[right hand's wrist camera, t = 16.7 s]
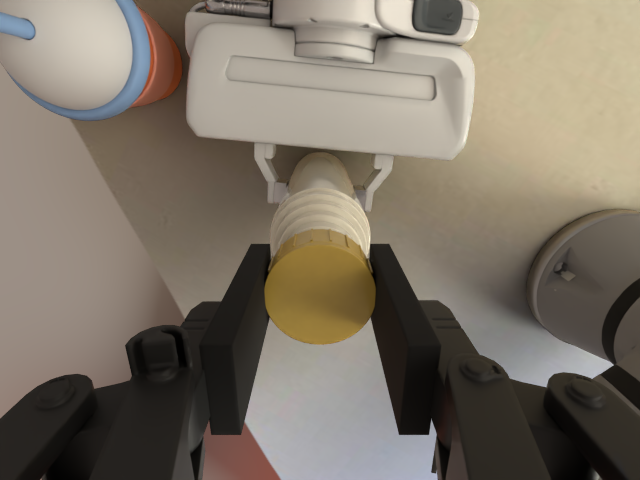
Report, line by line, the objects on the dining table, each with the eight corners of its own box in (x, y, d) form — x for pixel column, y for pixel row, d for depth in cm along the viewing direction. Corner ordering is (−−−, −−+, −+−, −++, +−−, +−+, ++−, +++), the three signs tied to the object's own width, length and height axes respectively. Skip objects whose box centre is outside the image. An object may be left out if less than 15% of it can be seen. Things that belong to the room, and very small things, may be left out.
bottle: (318, 139, 33) (316, 191, 12) (358, 178, 35) (421, 288, 13) (281, 180, 35) (219, 293, 13) (321, 217, 36) (322, 373, 15)
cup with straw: (73, 56, 31) (-227, -9, 14) (140, -25, 29) (-114, -217, 12) (153, 138, 33) (-19, 168, 16) (221, 69, 31) (104, 20, 14)
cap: (253, 298, 15) (245, 322, 13) (293, 209, 14) (289, 224, 12) (343, 333, 15) (345, 360, 14) (389, 252, 14) (398, 271, 12)
